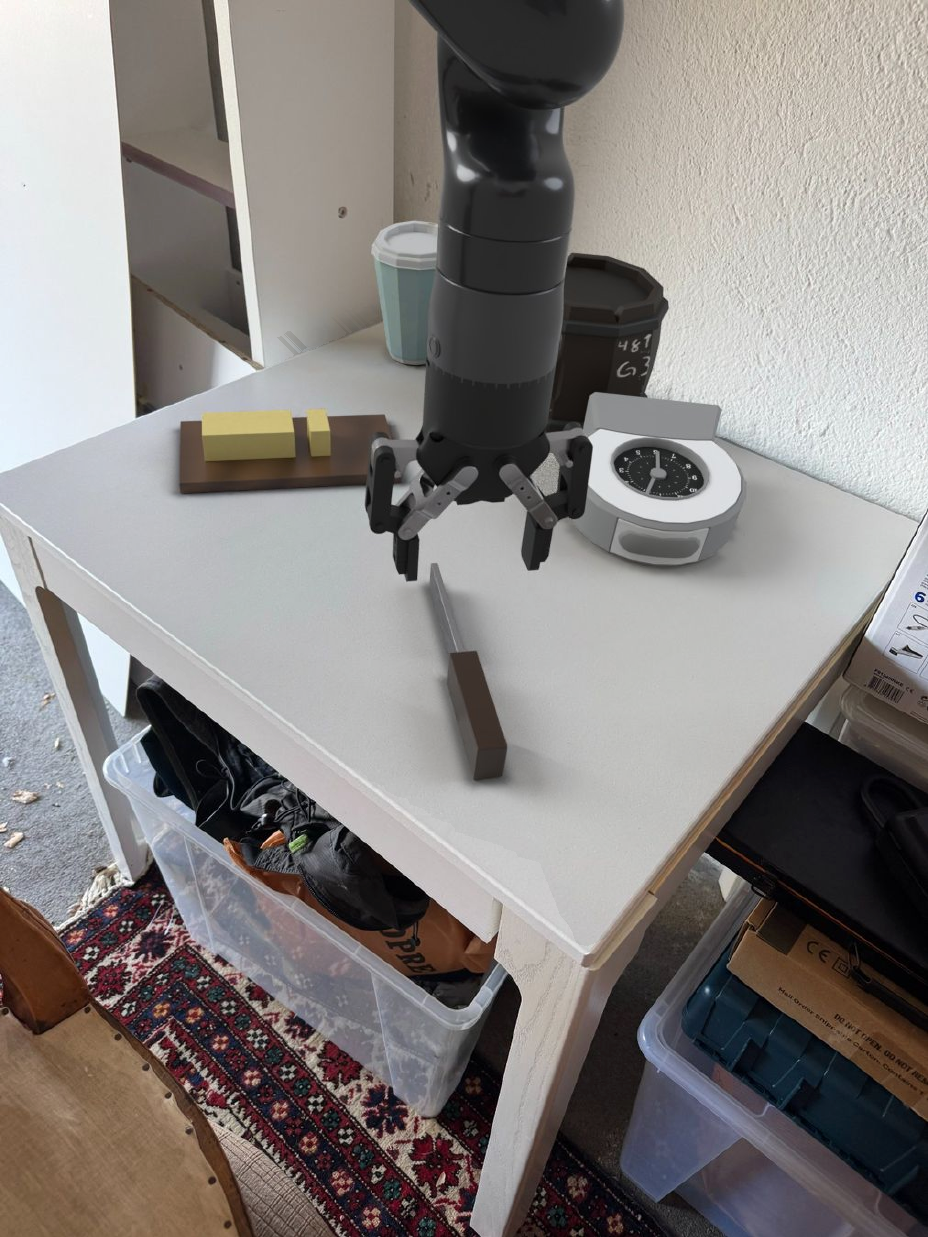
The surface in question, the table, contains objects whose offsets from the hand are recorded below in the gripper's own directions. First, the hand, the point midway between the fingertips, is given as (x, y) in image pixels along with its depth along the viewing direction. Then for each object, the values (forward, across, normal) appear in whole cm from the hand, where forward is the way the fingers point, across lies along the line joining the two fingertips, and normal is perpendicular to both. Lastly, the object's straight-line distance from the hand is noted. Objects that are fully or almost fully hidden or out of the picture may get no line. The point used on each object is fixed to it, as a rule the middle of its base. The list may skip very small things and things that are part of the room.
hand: (469, 568), depth 64 cm
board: (+14, +10, -38) cm, 41 cm away
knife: (+14, -1, -3) cm, 14 cm away
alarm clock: (+14, -25, -23) cm, 37 cm away
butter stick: (+12, +14, -38) cm, 42 cm away
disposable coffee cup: (+14, -8, -60) cm, 62 cm away
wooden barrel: (+14, -23, -45) cm, 53 cm away
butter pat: (+12, +7, -38) cm, 40 cm away
